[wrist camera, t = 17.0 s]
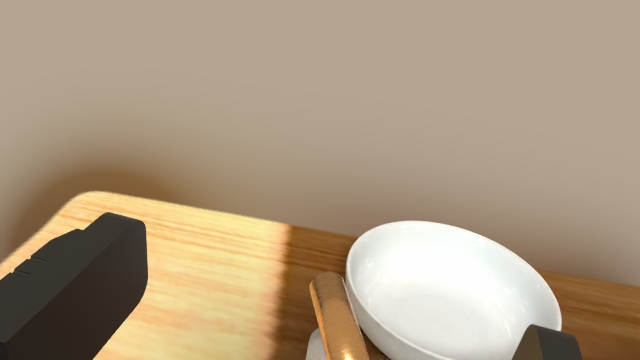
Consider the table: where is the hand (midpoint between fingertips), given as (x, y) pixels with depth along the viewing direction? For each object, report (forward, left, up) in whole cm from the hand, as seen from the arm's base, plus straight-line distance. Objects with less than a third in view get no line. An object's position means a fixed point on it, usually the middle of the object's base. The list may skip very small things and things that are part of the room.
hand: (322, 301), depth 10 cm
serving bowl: (+26, -22, -30) cm, 45 cm away
